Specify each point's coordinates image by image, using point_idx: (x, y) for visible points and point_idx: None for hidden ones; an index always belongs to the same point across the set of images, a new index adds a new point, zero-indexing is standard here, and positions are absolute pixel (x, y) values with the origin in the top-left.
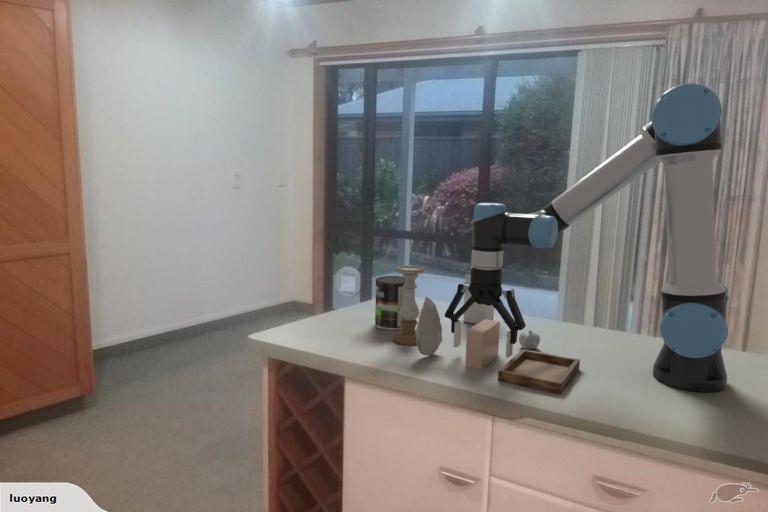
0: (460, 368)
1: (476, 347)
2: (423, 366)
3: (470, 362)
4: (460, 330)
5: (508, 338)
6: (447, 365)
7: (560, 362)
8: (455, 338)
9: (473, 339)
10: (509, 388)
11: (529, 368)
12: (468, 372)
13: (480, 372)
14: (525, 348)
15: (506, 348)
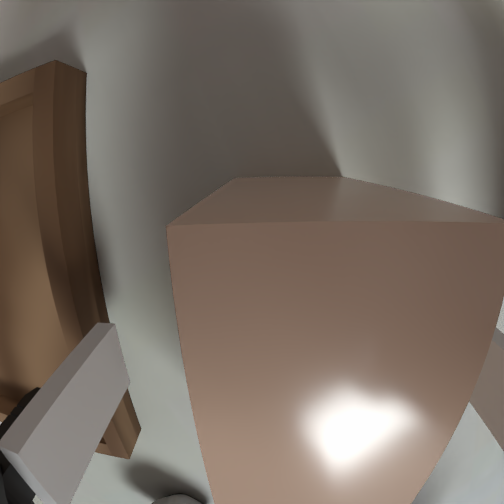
0: (348, 117)
1: (283, 189)
2: (496, 67)
3: (314, 177)
4: (494, 417)
5: (37, 405)
6: (428, 129)
7: (5, 399)
8: (499, 338)
9: (346, 198)
10: (29, 42)
11: (25, 299)
12: (277, 79)
13: (213, 121)
14: (182, 495)
15: (86, 356)
